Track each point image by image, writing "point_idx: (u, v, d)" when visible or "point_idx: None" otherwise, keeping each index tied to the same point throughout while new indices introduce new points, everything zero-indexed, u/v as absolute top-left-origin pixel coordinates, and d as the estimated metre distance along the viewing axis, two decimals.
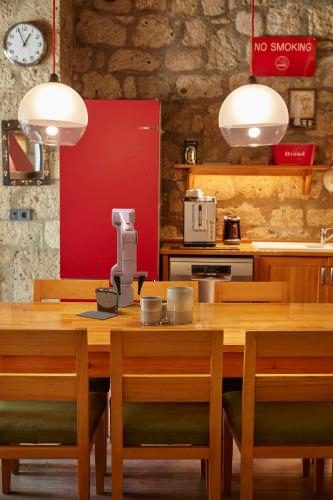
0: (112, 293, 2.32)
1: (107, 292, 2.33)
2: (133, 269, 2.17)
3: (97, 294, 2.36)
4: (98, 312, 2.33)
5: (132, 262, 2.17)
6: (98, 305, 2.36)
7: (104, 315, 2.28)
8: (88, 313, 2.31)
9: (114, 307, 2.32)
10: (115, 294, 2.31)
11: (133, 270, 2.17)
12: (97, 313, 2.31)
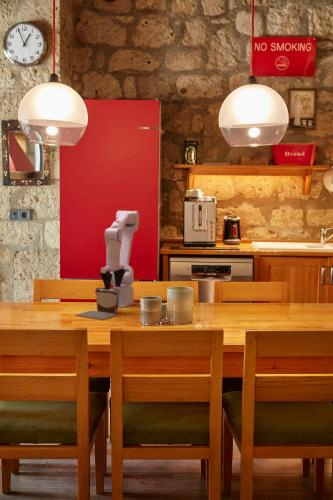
0: (112, 293, 2.32)
1: (107, 292, 2.33)
2: (119, 264, 2.34)
3: (97, 294, 2.36)
4: (98, 312, 2.33)
5: (119, 258, 2.33)
6: (98, 305, 2.36)
7: (104, 315, 2.28)
8: (88, 313, 2.31)
9: (114, 307, 2.32)
10: (115, 294, 2.31)
11: (119, 265, 2.34)
12: (97, 313, 2.31)
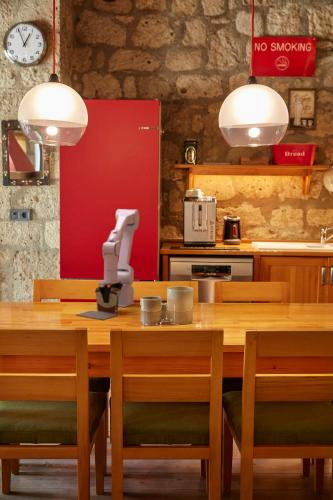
0: (112, 293, 2.32)
1: None
2: (117, 278, 2.35)
3: (97, 294, 2.36)
4: (98, 312, 2.33)
5: (117, 271, 2.35)
6: (98, 305, 2.36)
7: (104, 315, 2.28)
8: (88, 313, 2.31)
9: (114, 307, 2.32)
10: (115, 294, 2.31)
11: (117, 279, 2.35)
12: (97, 313, 2.31)
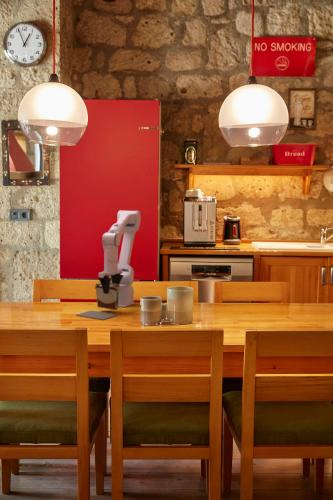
0: (112, 289, 2.32)
1: None
2: (117, 268, 2.35)
3: (97, 290, 2.36)
4: (98, 312, 2.33)
5: (117, 262, 2.34)
6: (98, 301, 2.36)
7: (104, 315, 2.28)
8: (88, 313, 2.31)
9: (114, 303, 2.32)
10: (115, 290, 2.31)
11: (117, 269, 2.35)
12: (97, 313, 2.31)
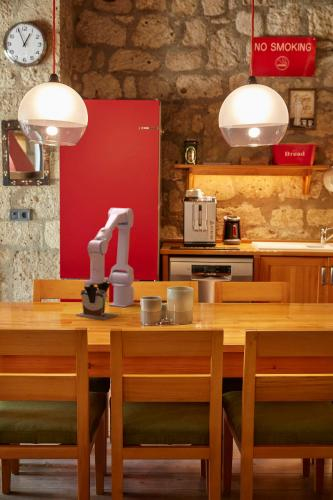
0: (98, 295, 2.24)
1: None
2: None
3: (83, 296, 2.28)
4: None
5: None
6: (84, 308, 2.28)
7: (104, 315, 2.28)
8: None
9: (100, 310, 2.24)
10: (101, 296, 2.23)
11: (104, 278, 2.27)
12: None
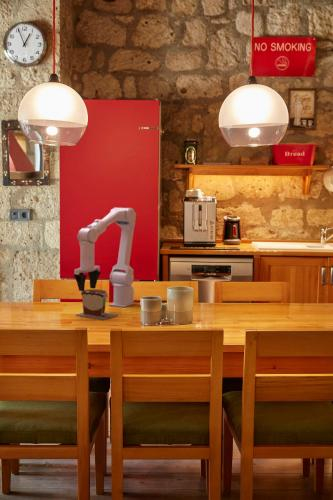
0: (98, 295, 2.24)
1: (93, 294, 2.25)
2: None
3: (83, 296, 2.28)
4: None
5: (93, 259, 2.28)
6: (84, 308, 2.28)
7: (104, 315, 2.28)
8: None
9: (101, 310, 2.24)
10: (102, 296, 2.23)
11: (94, 266, 2.29)
12: None
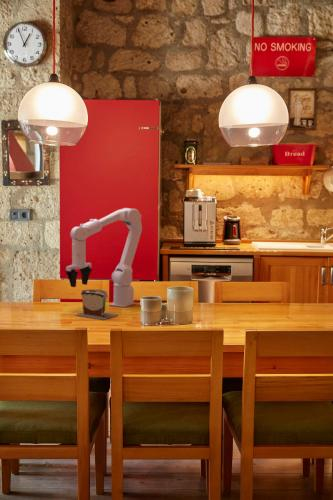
0: (98, 295, 2.24)
1: (93, 294, 2.25)
2: (85, 262, 2.39)
3: (83, 296, 2.28)
4: None
5: (85, 256, 2.38)
6: (84, 308, 2.28)
7: (104, 315, 2.28)
8: None
9: (101, 310, 2.24)
10: (102, 296, 2.23)
11: (85, 263, 2.39)
12: None
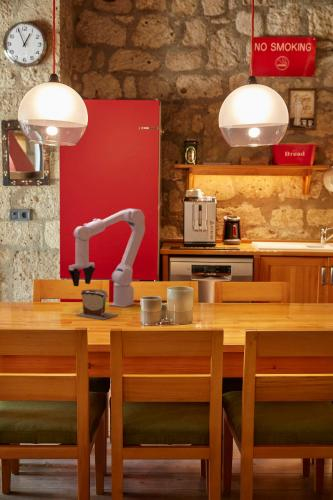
0: (98, 295, 2.24)
1: (93, 294, 2.25)
2: (88, 262, 2.40)
3: (83, 296, 2.28)
4: None
5: (88, 255, 2.39)
6: (84, 308, 2.28)
7: (104, 315, 2.28)
8: None
9: (101, 310, 2.24)
10: (102, 296, 2.23)
11: (88, 262, 2.40)
12: None
